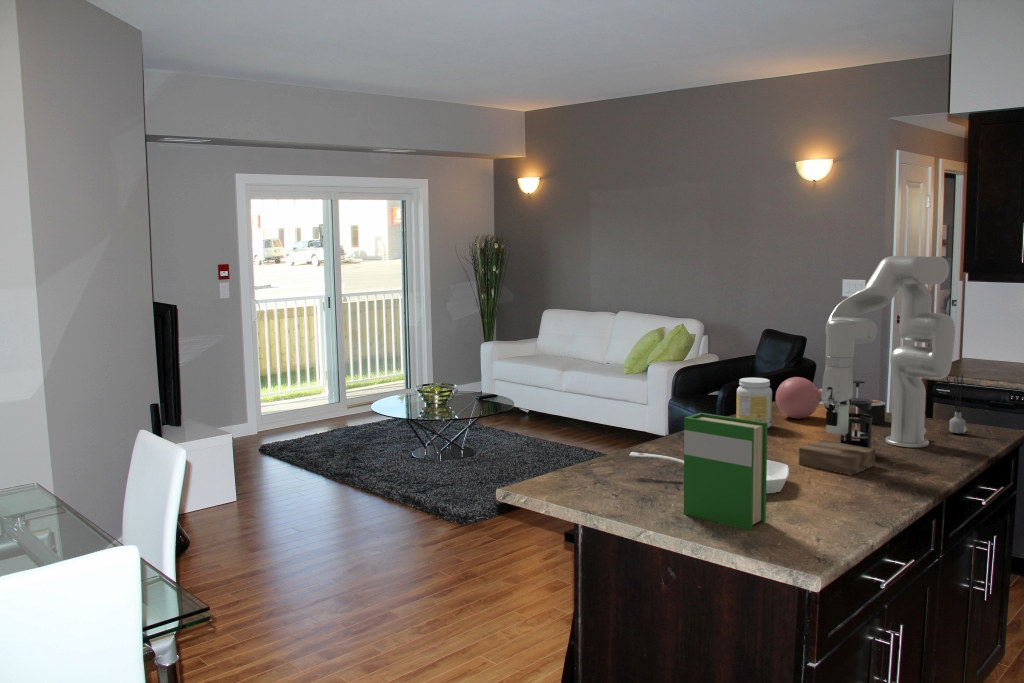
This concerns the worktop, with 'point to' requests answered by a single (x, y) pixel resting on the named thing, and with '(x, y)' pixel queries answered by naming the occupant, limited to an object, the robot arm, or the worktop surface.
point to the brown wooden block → (837, 457)
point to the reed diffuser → (957, 414)
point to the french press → (859, 422)
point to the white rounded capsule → (840, 420)
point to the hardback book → (725, 469)
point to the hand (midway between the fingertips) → (837, 423)
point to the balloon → (798, 397)
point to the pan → (774, 479)
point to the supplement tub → (754, 400)
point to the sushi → (876, 412)
